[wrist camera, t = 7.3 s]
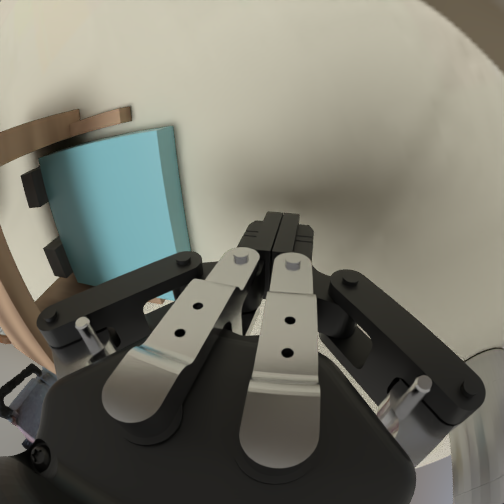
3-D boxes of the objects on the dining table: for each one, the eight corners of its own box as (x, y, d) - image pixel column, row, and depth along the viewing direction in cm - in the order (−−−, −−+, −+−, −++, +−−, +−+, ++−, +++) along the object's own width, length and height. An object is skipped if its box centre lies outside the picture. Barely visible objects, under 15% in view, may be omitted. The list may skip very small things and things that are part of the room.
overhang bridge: (128, 92, 14) (-18, 124, 5) (170, 304, 23) (111, 403, 14) (26, 132, 16) (-63, 175, 8) (71, 283, 25) (15, 347, 17)
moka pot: (85, 365, 38) (33, 449, 21) (43, 299, 30) (-33, 395, 13) (125, 382, 36) (73, 481, 19) (82, 313, 28) (-3, 435, 11)
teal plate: (176, 124, 15) (156, 130, 13) (200, 282, 21) (188, 302, 19) (59, 149, 17) (38, 158, 15) (92, 267, 24) (77, 282, 22)
